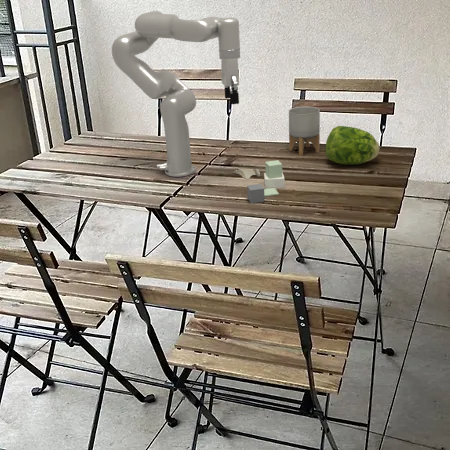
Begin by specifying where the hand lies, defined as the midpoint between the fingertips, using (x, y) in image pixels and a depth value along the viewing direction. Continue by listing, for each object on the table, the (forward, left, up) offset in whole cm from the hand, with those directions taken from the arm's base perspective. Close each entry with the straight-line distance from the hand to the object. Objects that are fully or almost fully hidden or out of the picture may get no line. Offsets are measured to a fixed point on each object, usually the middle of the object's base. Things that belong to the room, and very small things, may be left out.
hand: (231, 100), depth 233 cm
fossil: (+5, +1, -31) cm, 31 cm away
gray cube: (+2, -25, -30) cm, 39 cm away
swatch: (+8, -20, -30) cm, 37 cm away
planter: (+35, +22, -30) cm, 51 cm away
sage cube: (+12, -13, -27) cm, 32 cm away
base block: (+12, -13, -31) cm, 35 cm away
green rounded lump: (+48, 0, -30) cm, 57 cm away
